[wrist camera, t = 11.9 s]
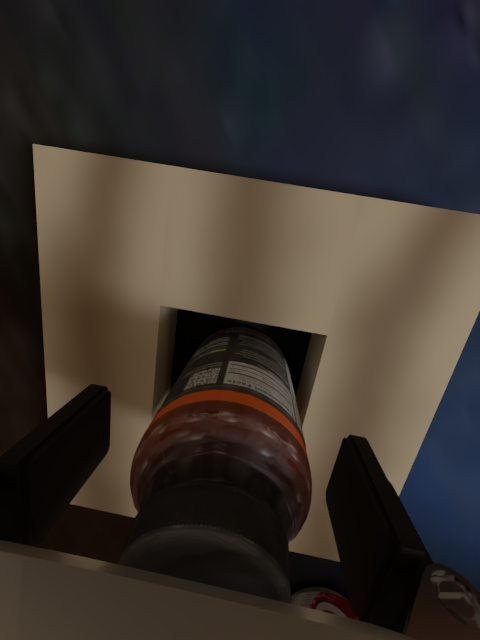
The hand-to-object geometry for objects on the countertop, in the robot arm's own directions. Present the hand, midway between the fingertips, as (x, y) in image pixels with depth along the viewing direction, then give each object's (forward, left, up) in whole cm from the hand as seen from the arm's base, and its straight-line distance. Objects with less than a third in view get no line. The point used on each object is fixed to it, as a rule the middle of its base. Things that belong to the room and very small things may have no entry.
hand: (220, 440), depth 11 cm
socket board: (0, 0, -6) cm, 6 cm away
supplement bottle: (0, 0, -7) cm, 7 cm away
